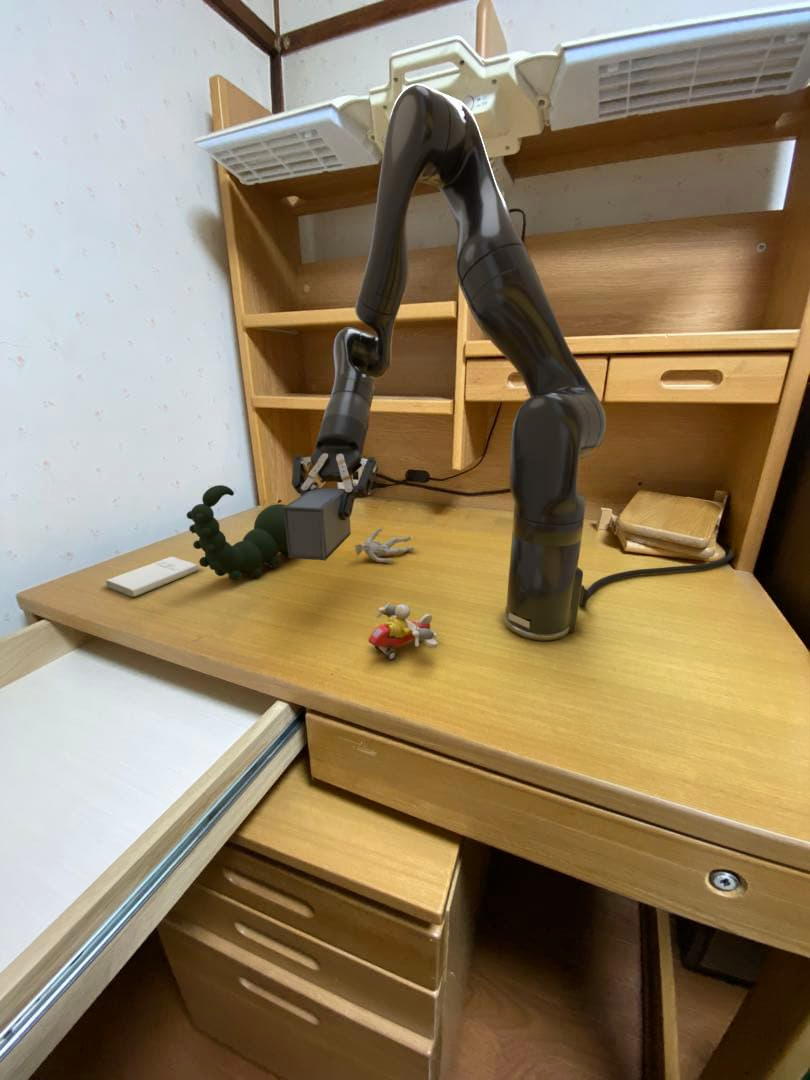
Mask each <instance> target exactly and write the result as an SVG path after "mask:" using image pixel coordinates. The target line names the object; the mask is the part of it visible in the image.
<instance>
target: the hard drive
mask: <svg viewBox="0 0 810 1080" xmlns="http://www.w3.org/2000/svg"><path fill="white" fill-rule="evenodd" d="M197 571H199V568H198V565H197V564H196V563H195V562H191V561H188V560H184V559H181V558H178V557H174V556H168V557H166V558H164V559H160V560H158V561H155V562H152V563H150V564H147V565H144V566H141V567H139V568H135V569H133V570H130V571H128V572H125V573H122V574H119V575H117V576H114V577H112V578H108V579H106V580H105V583H106V586H107V588H109V589H110V590H113V591H116V592H118V593H121V594H123V595H125V596H128V597H131V598H136V597H138V596H140V595H143V594H145V593H148V592H150V591H153V590H155V589H158V588H160V587H162V586H165V585H167V584H169V583H171V582H174V581H176V580H179V579H181V578H184V577H186V576H188V575H191V574H193V573H195V572H197Z"/></svg>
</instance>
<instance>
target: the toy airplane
mask: <svg viewBox="0 0 810 1080" xmlns="http://www.w3.org/2000/svg"><path fill="white" fill-rule="evenodd" d="M410 613H411V609H410V607H409V606H408V605H407V604H403V603H402V604H398V605H397V606H395V605H391V603H390V602H388V603H387V604H386V605H383V606H381V607H379V608H378V613H377V614H376V618H377V619H379V618H381V616H382V615H384V616H386V617H387V618H388V622H383V624H382V623H381V624H380V625H378V626H377V627H376V628H375V629H374V630H373V631H372V633H370V636H369V637H368V643H370V644H371V645H372V646H374V649H375V650H377V651H382V652H383V653H384V654H385V658H386V659H387V660H388V661H389V660H390V661H393V660H394V659H395V658H396V657H397V652H396V650H395V649H393V648H397V647H400V646H402V645H403V644H406V643H408V642H410V641H412V640H414V646H415V647H416V648H418V647H419V646H420V642H422V643H423V644H424V645H425V646H427V647H429V648H431V649H437V647H438V644H439V643H438V641H437V640H436V639H437V636H438V634H437V633H436V632H434V631H433V630H431V629H430V628H431V623H432V619H433V615H432V614H431V613H426V614H425V615H423V616H422V617H421V618H420V619H419V621H418V620H415V621H410V620H409V619H408V618H409V617H410V615H411V614H410Z"/></svg>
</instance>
